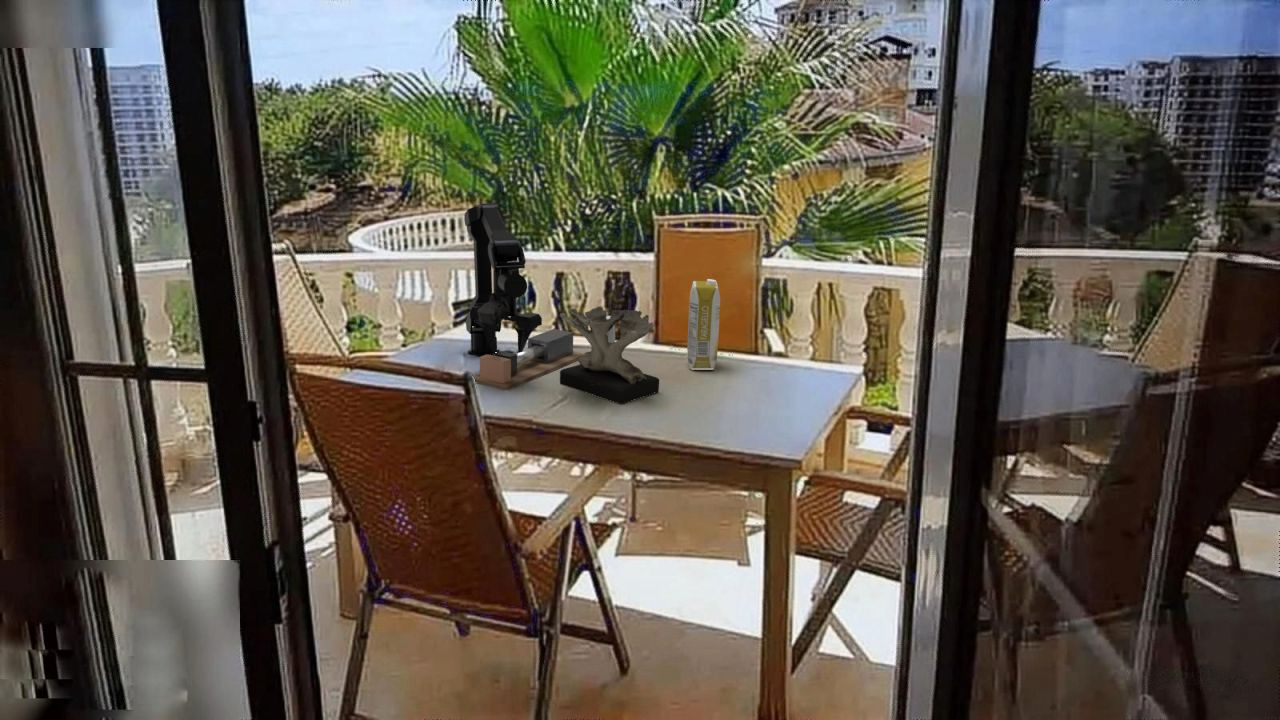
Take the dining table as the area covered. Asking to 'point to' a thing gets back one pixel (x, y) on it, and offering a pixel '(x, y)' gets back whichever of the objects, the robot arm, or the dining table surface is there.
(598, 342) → the coral
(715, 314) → the juice carton
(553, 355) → the sleeve
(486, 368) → the reddish brown block
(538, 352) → the steel tube
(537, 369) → the walnut board
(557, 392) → the dining table surface
